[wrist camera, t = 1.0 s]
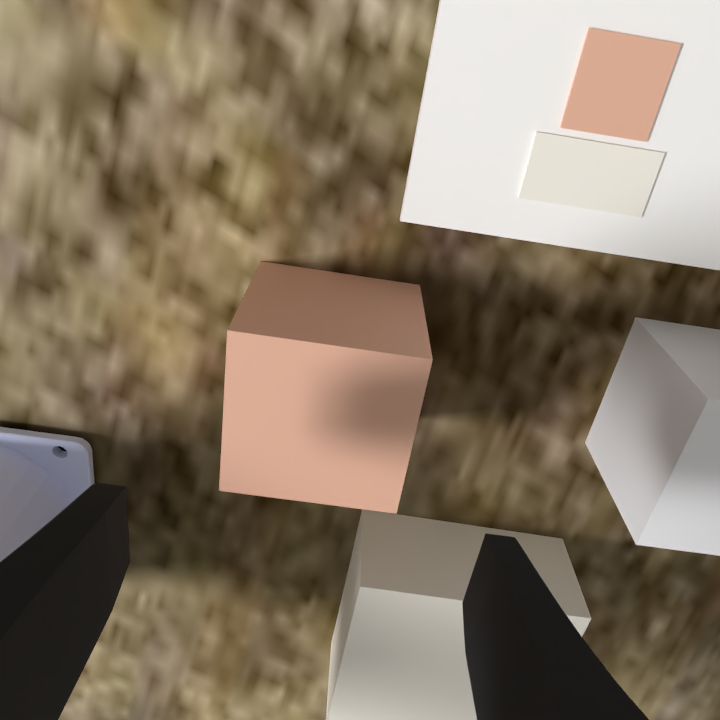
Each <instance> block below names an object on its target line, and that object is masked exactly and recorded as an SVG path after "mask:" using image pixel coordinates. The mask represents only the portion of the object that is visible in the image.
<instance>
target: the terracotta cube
mask: <svg viewBox="0 0 720 720" xmlns="http://www.w3.org/2000/svg"><path fill="white" fill-rule="evenodd" d="M432 361H433V358H432V353H431V347H430V341H429V335H428V329H427V324H426V318H425V312H424V306H423V300H422V295H421V289H420V285H417V284H410V283H403V282H396V281H390V280H383V279H376V278H370V277H363V276H356V275H350V274H343V273H336V272H330V271H323V270H316V269H309V268H303V267H296V266H289V265H283V264H276V263H269V262H263V261H261V262H260V264H259V266H258V268H257V270H256V272H255V274H254V276H253V278H252V281H251V283H250V285H249V287H248V289H247V291H246V293H245V295H244V297H243V299H242V301H241V303H240V305H239V307H238V309H237V312H236V314H235V316H234V318H233V320H232V322H231V324H230V326H229V328H228V330H227V347H226V367H225V386H224V405H223V424H222V443H221V462H220V482H219V491H225V492H233V493H241V494H248V495H256V496H264V497H272V498H279V499H287V500H295V501H302V502H310V503H318V504H326V505H333V506H341V507H349V508H357V509H364V510H372V511H380V512H387V513H395V514H397V510H398V505H399V501H400V497H401V492H402V488H403V484H404V480H405V475H406V471H407V467H408V463H409V458H410V454H411V450H412V446H413V441H414V437H415V433H416V429H417V424H418V420H419V416H420V412H421V407H422V403H423V399H424V395H425V390H426V386H427V382H428V378H429V373H430V369H431V365H432Z"/></svg>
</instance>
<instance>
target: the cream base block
mask: <svg viewBox="0 0 720 720" xmlns="http://www.w3.org/2000/svg"><path fill="white" fill-rule="evenodd" d="M485 533H487V534H494V535H502V536H510V537H515V538H516V539H517V541H518V542H519V544H520V545H521V547H522V548H523V550H524V551H525V553H526V554H527V556H528V558H529V559H530V561H531V562H532V564H533V565H534V567H535V569H536V570H537V572H538V573H539V575H540V576H541V578H542V579H543V581H544V582H545V584H546V586H547V587H548V589H549V590H550V592H551V593H552V595H553V596H554V598H555V599H556V601H557V602H558V604H559V605H560V607H561V608H562V609H563V611H564V612H565V614H566V615H567V617H568V618H569V619H570V621H571V622H572V624H573V625H574V626H575V628H576V629H577V631H578V632H579V634H580V635H581V636H583V634H584V632H585V630H586V628H587V626H588V624H589V622H590V621H591V619H592V618H591V616H590V613H589V610H588V607H587V605H586V602H585V599H584V596H583V594H582V591H581V588H580V585H579V583H578V580H577V577H576V575H575V572H574V569H573V566H572V564H571V561H570V558H569V555H568V553H567V550H566V547H565V544H564V542H563V539H562V538H555V537H548V536H541V535H535V534H528V533H521V532H514V531H507V530H501V529H494V528H487V527H480V526H473V525H467V524H460V523H453V522H446V521H440V520H433V519H426V518H419V517H412V516H406V515H399V514H392V513H385V512H378V511H372V510H364V509H362V512H361V516H360V521H359V525H358V529H357V534H356V538H355V542H354V547H353V551H352V556H351V560H350V564H349V569H348V573H347V577H346V582H345V586H344V590H343V595H342V599H341V604H340V608H339V612H338V617H337V621H336V625H335V630H334V634H333V638H332V643H331V656H330V670H329V684H328V698H327V712H326V720H477V716H476V711H475V705H474V700H473V694H472V689H471V683H470V677H469V671H468V666H467V660H466V654H465V640H464V625H463V605H462V602H463V599H464V596H465V593H466V590H467V587H468V584H469V581H470V578H471V575H472V572H473V569H474V566H475V563H476V560H477V557H478V554H479V551H480V548H481V545H482V542H483V539H484V536H485Z"/></svg>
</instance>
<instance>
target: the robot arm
mask: <svg viewBox="0 0 720 720" xmlns="http://www.w3.org/2000/svg"><path fill="white" fill-rule="evenodd" d="M58 446H60V447H63V448H64V449H65V450H66V451H63V450H61V449H60V448H58ZM129 562H130V557H129V533H128V508H127V487H125V486H117V485H109V484H102V483H94V470H93V456H92V448H91V445H90V444H89V443H88V442H87V441H86V440H84V439H83V438H79V437H74V436H66V435H59V434H51V433H44V432H36V431H28V430H21V429H13V428H6V427H0V720H58V719H59V717H60V715H61V713H62V711H63V709H64V707H65V705H66V703H67V701H68V699H69V697H70V695H71V693H72V691H73V689H74V687H75V685H76V683H77V681H78V679H79V677H80V675H81V673H82V671H83V669H84V667H85V665H86V663H87V661H88V659H89V657H90V655H91V653H92V651H93V649H94V646H95V644H96V642H97V640H98V638H99V636H100V634H101V632H102V630H103V628H104V626H105V624H106V622H107V620H108V618H109V616H110V614H111V612H112V609H113V607H114V604H115V601H116V599H117V596H118V593H119V590H120V588H121V585H122V582H123V579H124V576H125V573H126V570H127V568H128V565H129ZM462 605H463V625H464V640H465V654H466V660H467V666H468V671H469V677H470V683H471V689H472V694H473V700H474V705H475V711H476V716H477V720H649V719H648V718H647V717H646V716H645V715H644V714H643V712H642V711H641V710H640V709H639V708H638V707H637V706H636V705H635V703H634V702H633V701H632V700H631V699H630V698H629V697H628V695H627V694H626V693H625V692H624V691H623V689H622V688H621V687H620V686H619V685H618V683H617V682H616V681H615V680H614V678H613V677H612V676H611V675H610V673H609V672H608V671H607V670H606V668H605V667H604V666H603V664H602V663H601V662H600V660H599V659H598V658H597V657H596V655H595V654H594V653H593V651H592V650H591V649H590V647H589V646H588V645H587V643H586V642H585V641H584V639H583V638H582V636H581V635H580V634H579V632H578V631H577V629H576V628H575V626H574V625H573V624H572V622H571V621H570V619H569V618H568V617H567V615H566V614H565V612H564V611H563V609H562V608H561V607H560V605H559V604H558V602H557V601H556V599H555V598H554V596H553V595H552V593H551V592H550V590H549V589H548V587H547V586H546V584H545V582H544V581H543V579H542V578H541V576H540V575H539V573H538V572H537V570H536V569H535V567H534V565H533V564H532V562H531V561H530V559H529V558H528V556H527V554H526V553H525V551H524V550H523V548H522V547H521V545H520V544H519V542H518V541H517V539H516V538H515V537H510V536H502V535H494V534H487V533H485V536H484V539H483V542H482V545H481V548H480V551H479V554H478V557H477V560H476V563H475V566H474V569H473V572H472V575H471V578H470V581H469V584H468V587H467V590H466V593H465V596H464V599H463V602H462Z"/></svg>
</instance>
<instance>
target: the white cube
mask: <svg viewBox="0 0 720 720" xmlns="http://www.w3.org/2000/svg"><path fill="white" fill-rule="evenodd" d="M585 444H586V446H587V448H588V450H589V452H590V454H591V456H592V458H593V460H594V462H595V464H596V466H597V468H598V470H599V472H600V474H601V476H602V478H603V480H604V482H605V484H606V486H607V488H608V490H609V492H610V494H611V496H612V498H613V500H614V502H615V504H616V506H617V508H618V510H619V512H620V514H621V516H622V518H623V520H624V522H625V524H626V526H627V528H628V530H629V532H630V534H631V536H632V538H633V540H634V542H635V544H636V545H642V546H649V547H657V548H665V549H672V550H680V551H688V552H695V553H703V554H711V555H718V556H720V330H718V329H711V328H705V327H698V326H691V325H685V324H678V323H671V322H665V321H658V320H651V319H644V318H638V317H635V320H634V322H633V325H632V327H631V330H630V332H629V335H628V337H627V340H626V342H625V345H624V347H623V350H622V352H621V355H620V357H619V360H618V362H617V365H616V367H615V370H614V372H613V375H612V377H611V380H610V382H609V385H608V387H607V390H606V392H605V395H604V397H603V400H602V402H601V405H600V407H599V410H598V412H597V415H596V417H595V420H594V422H593V425H592V427H591V430H590V432H589V435H588V437H587V440H586V442H585Z"/></svg>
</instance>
